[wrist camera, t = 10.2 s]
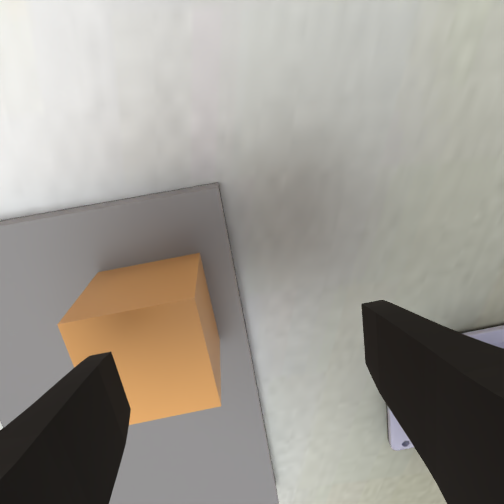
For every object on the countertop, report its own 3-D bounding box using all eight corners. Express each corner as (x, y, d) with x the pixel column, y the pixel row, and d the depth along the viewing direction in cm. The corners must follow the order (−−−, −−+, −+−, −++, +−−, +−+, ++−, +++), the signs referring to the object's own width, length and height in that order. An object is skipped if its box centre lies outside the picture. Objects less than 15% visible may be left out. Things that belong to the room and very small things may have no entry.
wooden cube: (199, 252, 18) (194, 297, 14) (219, 339, 20) (221, 406, 15) (97, 272, 18) (57, 324, 14) (126, 358, 20) (99, 431, 15)
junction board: (218, 182, 19) (219, 199, 15) (275, 484, 26) (287, 555, 22) (-66, 232, 18) (-150, 265, 14) (72, 526, 25) (44, 607, 21)
